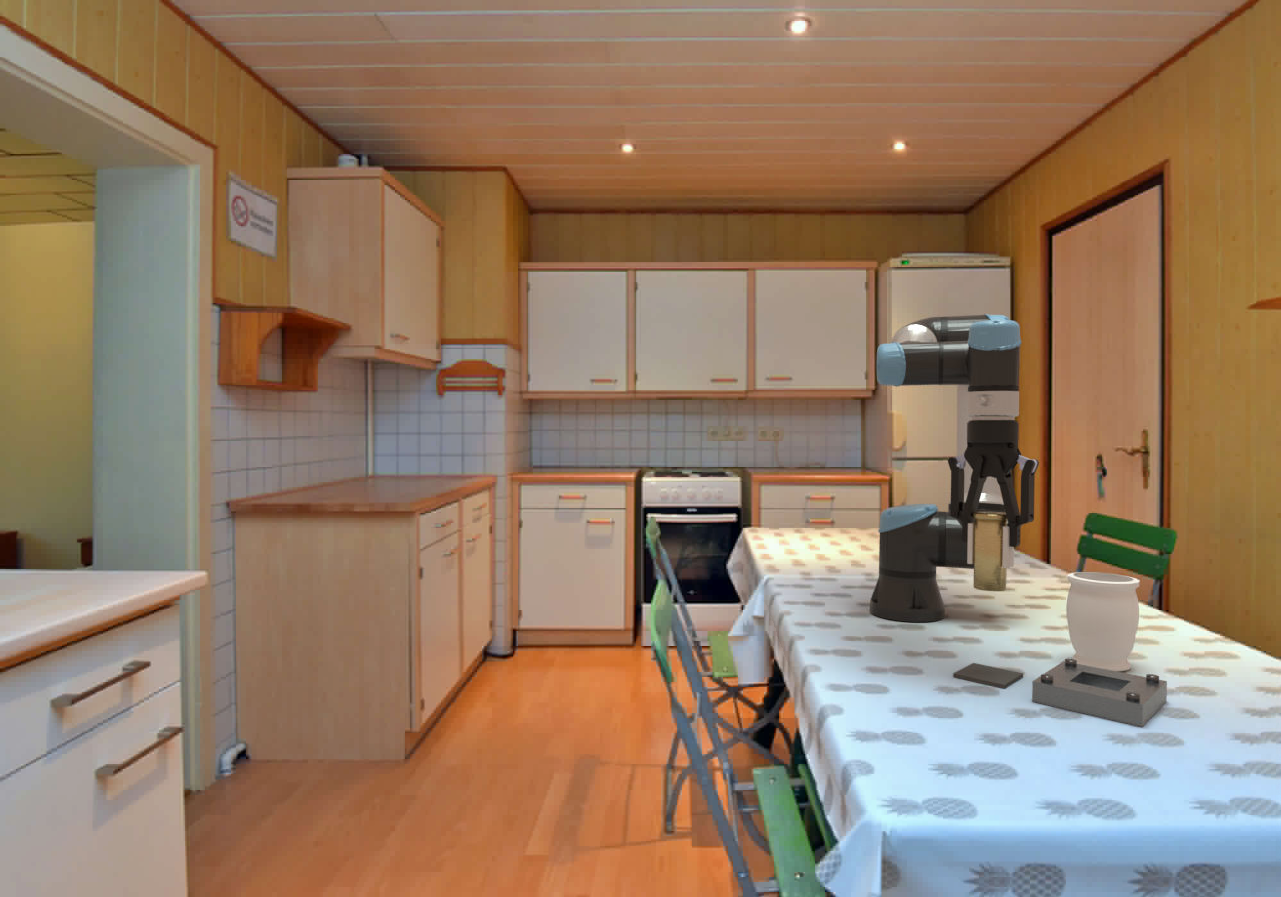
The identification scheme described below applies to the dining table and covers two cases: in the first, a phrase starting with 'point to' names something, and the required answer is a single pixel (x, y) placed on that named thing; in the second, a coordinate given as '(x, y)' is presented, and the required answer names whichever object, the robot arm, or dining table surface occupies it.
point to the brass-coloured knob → (989, 551)
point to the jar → (1102, 618)
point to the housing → (1101, 692)
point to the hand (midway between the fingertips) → (990, 564)
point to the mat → (988, 675)
